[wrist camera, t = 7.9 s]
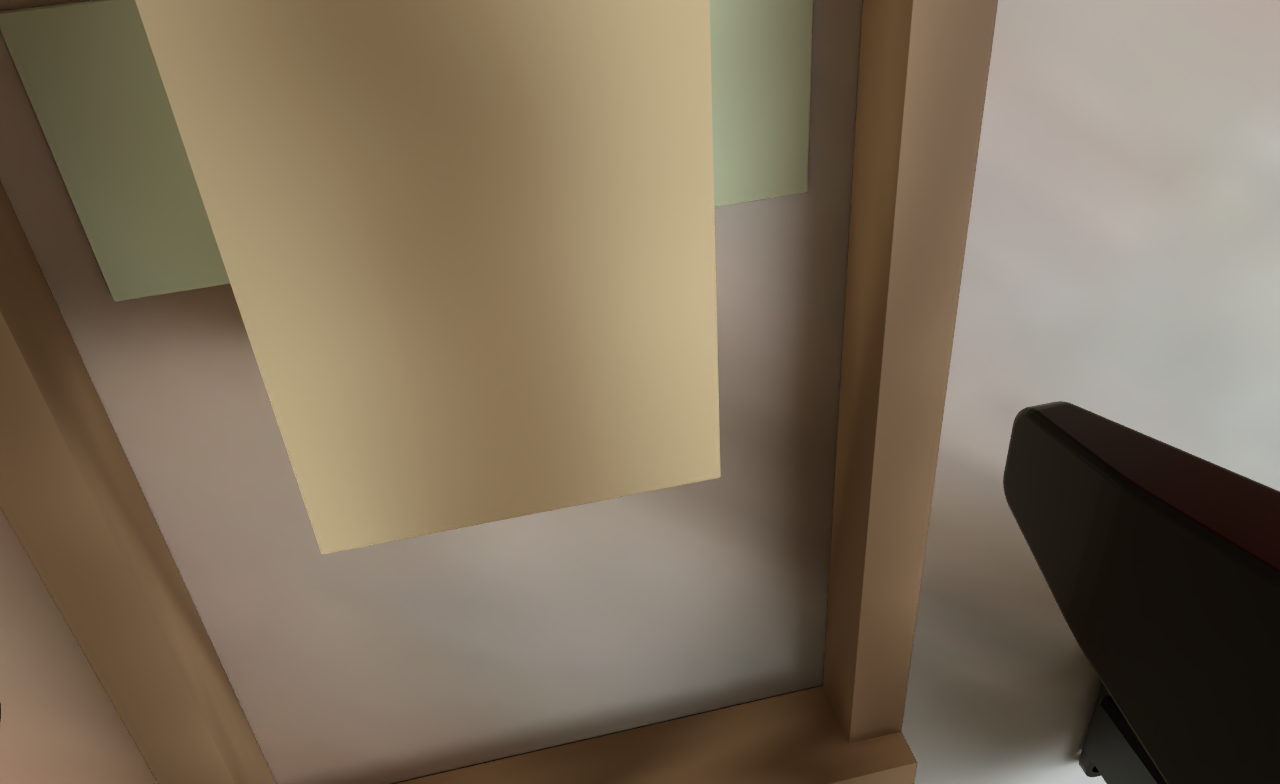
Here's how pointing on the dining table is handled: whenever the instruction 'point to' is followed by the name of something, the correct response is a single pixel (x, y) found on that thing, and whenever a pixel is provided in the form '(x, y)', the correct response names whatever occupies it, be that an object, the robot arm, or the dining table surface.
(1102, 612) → the robot arm
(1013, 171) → the dining table surface
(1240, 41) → the dining table surface
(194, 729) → the bay
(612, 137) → the box
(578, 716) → the dining table surface
